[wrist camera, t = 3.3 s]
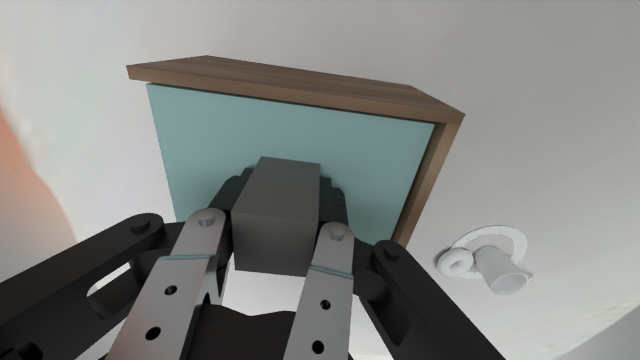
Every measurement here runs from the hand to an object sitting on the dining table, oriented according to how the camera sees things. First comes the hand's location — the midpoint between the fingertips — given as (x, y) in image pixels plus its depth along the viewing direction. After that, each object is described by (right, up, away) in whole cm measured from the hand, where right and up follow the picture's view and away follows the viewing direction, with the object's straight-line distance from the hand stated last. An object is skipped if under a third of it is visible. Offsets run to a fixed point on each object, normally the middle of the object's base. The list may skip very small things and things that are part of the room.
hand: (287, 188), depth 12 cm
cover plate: (0, +1, +1) cm, 1 cm away
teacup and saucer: (+17, -5, +12) cm, 21 cm away
